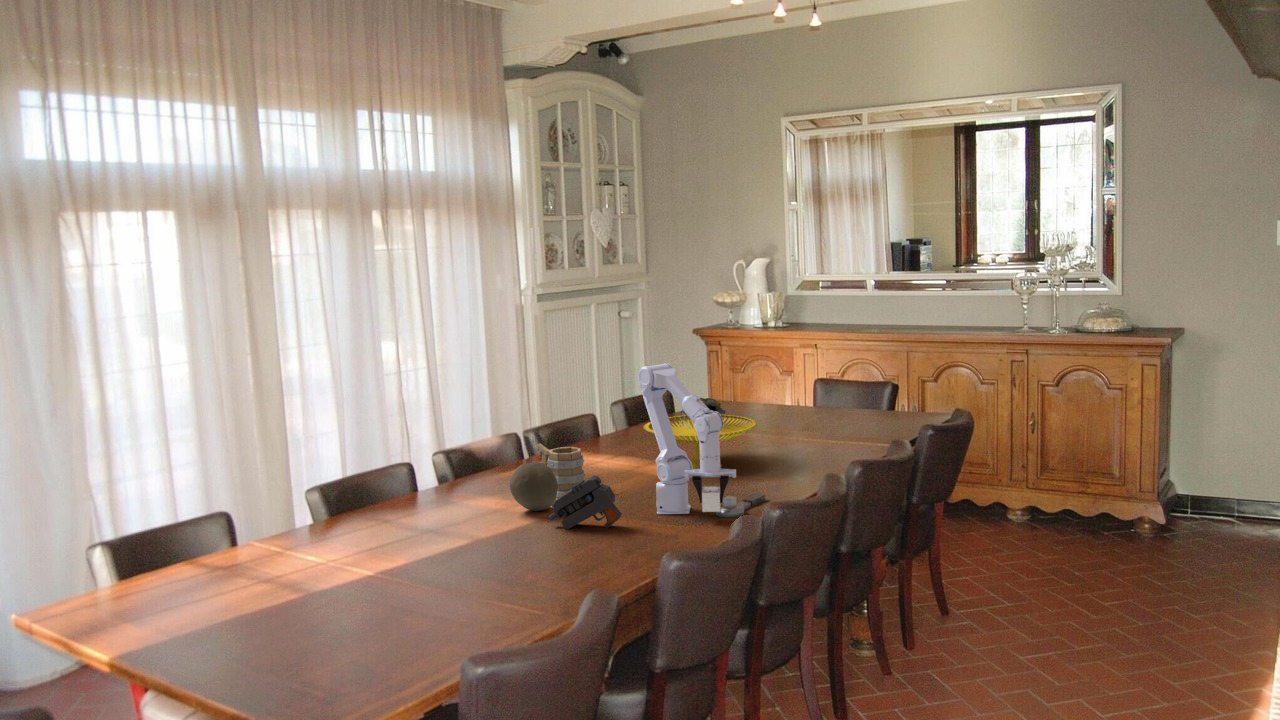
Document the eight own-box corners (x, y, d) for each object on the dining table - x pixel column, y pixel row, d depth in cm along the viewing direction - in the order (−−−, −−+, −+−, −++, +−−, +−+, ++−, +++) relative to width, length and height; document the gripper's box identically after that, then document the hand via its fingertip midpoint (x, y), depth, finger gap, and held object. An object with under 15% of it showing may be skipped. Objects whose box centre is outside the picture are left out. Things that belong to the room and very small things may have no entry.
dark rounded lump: (718, 435, 437) (697, 408, 442) (737, 416, 431) (715, 389, 436) (681, 446, 415) (659, 418, 420) (700, 426, 408) (677, 397, 413)
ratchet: (735, 519, 295) (734, 502, 295) (711, 515, 300) (710, 499, 299) (772, 501, 313) (771, 485, 312) (749, 498, 318) (748, 482, 317)
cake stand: (701, 486, 334) (699, 441, 332) (621, 468, 364) (619, 426, 362) (783, 464, 360) (782, 421, 358) (702, 448, 390) (700, 409, 388)
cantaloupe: (539, 502, 323) (536, 455, 321) (568, 509, 313) (565, 461, 311) (502, 512, 313) (499, 464, 311) (531, 520, 303) (529, 470, 301)
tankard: (594, 491, 334) (592, 445, 332) (566, 499, 325) (563, 452, 323) (553, 482, 348) (550, 439, 346) (524, 490, 339) (522, 446, 337)
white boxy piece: (702, 511, 292) (701, 491, 291) (703, 507, 297) (702, 486, 296) (720, 511, 291) (719, 490, 290) (720, 506, 296) (719, 486, 295)
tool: (623, 520, 289) (595, 474, 289) (567, 552, 293) (539, 507, 293) (627, 514, 295) (600, 469, 294) (573, 545, 299) (546, 501, 299)
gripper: (683, 458, 289) (685, 506, 291) (735, 458, 287) (736, 505, 289) (684, 453, 296) (686, 499, 298) (735, 452, 294) (737, 498, 296)
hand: (711, 502), depth 294 cm, fingers closed on white boxy piece, 5 cm apart
